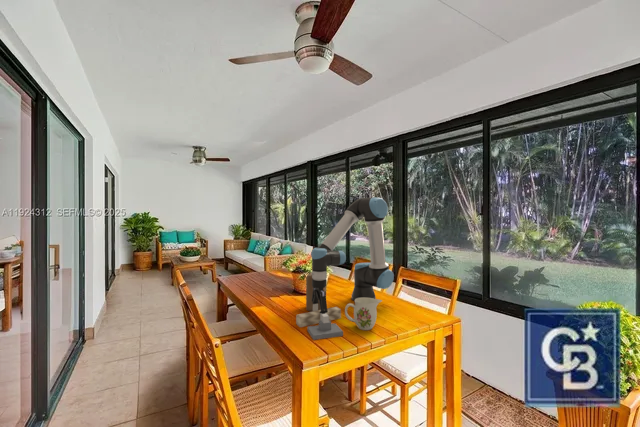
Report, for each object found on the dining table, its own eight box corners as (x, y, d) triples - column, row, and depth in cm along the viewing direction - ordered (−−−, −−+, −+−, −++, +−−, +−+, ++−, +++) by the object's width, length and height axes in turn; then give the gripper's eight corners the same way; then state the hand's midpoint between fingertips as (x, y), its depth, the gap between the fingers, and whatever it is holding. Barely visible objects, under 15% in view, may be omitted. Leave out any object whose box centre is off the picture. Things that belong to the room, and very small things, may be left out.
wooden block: (323, 312, 163) (323, 276, 163) (305, 311, 165) (305, 275, 165) (326, 306, 173) (326, 272, 173) (309, 305, 175) (309, 272, 175)
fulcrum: (335, 327, 143) (335, 309, 143) (343, 335, 133) (343, 317, 133) (307, 330, 139) (307, 313, 138) (313, 339, 129) (313, 320, 129)
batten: (336, 315, 159) (336, 306, 159) (340, 318, 155) (340, 309, 155) (296, 324, 147) (296, 314, 147) (300, 327, 143) (300, 317, 143)
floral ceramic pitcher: (346, 321, 151) (346, 294, 150) (382, 324, 146) (382, 297, 146) (342, 329, 140) (343, 301, 140) (381, 333, 136) (381, 304, 135)
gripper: (306, 274, 161) (305, 313, 161) (319, 285, 138) (319, 330, 138) (319, 273, 163) (318, 311, 163) (334, 284, 140) (334, 328, 140)
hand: (319, 320), depth 151 cm, fingers open, 12 cm apart
